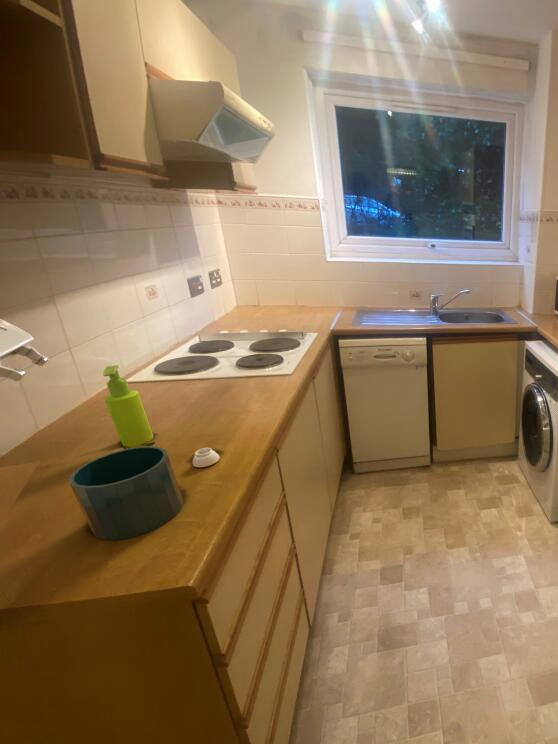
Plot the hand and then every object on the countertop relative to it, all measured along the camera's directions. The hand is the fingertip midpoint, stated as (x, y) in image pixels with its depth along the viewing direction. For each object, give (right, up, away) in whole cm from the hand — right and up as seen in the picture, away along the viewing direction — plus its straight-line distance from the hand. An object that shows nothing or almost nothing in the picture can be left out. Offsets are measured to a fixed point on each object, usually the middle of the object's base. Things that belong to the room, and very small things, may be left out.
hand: (34, 369), depth 91 cm
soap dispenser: (+11, -18, +13) cm, 25 cm away
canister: (+31, -28, -10) cm, 43 cm away
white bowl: (+32, -21, +7) cm, 39 cm away
